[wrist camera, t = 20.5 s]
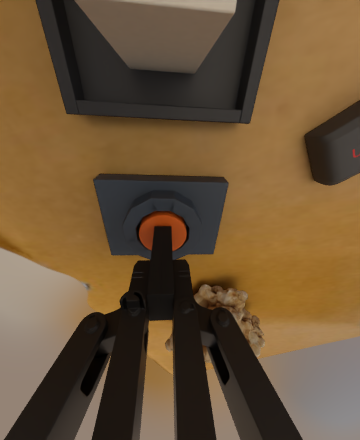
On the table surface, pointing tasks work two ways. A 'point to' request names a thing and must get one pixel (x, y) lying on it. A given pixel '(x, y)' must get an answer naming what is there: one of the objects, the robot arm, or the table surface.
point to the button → (162, 220)
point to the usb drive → (336, 147)
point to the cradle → (158, 80)
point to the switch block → (160, 209)
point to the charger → (160, 30)
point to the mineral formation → (234, 304)
